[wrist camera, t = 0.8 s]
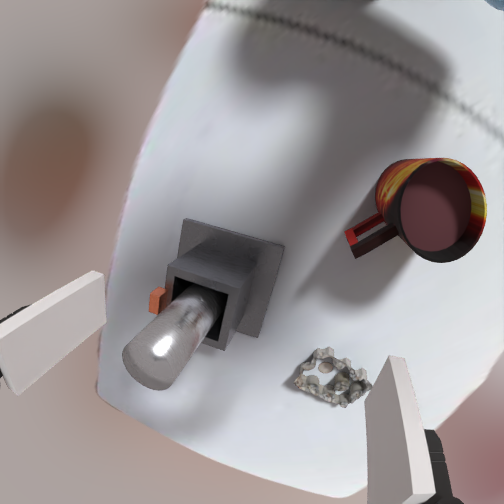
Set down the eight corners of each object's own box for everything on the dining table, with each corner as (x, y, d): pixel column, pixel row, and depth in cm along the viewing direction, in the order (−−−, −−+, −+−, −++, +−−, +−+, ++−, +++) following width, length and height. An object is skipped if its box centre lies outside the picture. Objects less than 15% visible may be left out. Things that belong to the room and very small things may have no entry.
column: (205, 257, 41) (119, 329, 22) (243, 269, 40) (179, 355, 22) (198, 295, 43) (120, 379, 24) (234, 308, 42) (173, 404, 24)
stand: (186, 218, 42) (139, 238, 30) (284, 246, 40) (269, 279, 28) (173, 304, 46) (133, 343, 35) (259, 334, 44) (238, 385, 33)
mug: (341, 232, 38) (349, 261, 26) (400, 143, 33) (433, 135, 21) (398, 273, 37) (423, 314, 26) (455, 190, 32) (501, 202, 21)
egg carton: (293, 367, 45) (289, 383, 41) (325, 337, 42) (325, 353, 38) (341, 399, 45) (340, 416, 41) (374, 373, 42) (376, 390, 38)
